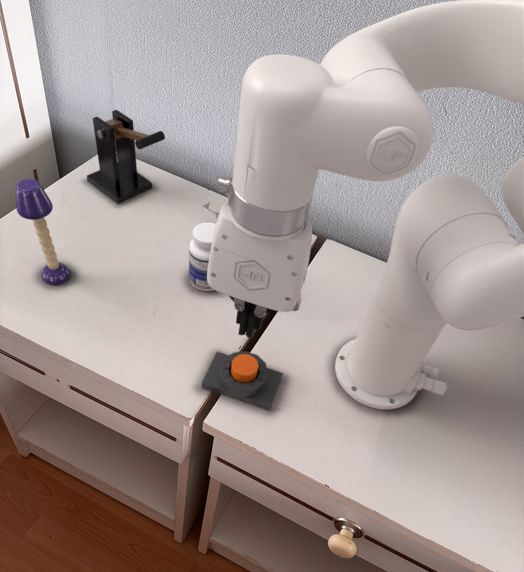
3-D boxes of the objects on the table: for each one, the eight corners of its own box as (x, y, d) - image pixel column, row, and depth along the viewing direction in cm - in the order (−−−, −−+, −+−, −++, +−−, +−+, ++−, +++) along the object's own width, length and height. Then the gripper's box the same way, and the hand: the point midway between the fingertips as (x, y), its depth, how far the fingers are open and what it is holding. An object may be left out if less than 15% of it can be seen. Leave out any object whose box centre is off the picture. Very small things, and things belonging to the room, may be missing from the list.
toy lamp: (51, 291, 78) (24, 199, 65) (31, 276, 80) (1, 183, 67) (76, 275, 81) (55, 184, 68) (56, 261, 82) (32, 169, 69)
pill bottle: (210, 263, 86) (213, 215, 79) (230, 284, 84) (235, 236, 76) (181, 276, 84) (181, 227, 76) (201, 297, 81) (203, 249, 74)
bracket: (152, 188, 97) (148, 123, 87) (118, 204, 93) (110, 138, 83) (121, 166, 100) (115, 101, 90) (87, 181, 96) (76, 114, 86)
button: (260, 366, 71) (261, 358, 70) (252, 386, 69) (253, 379, 68) (235, 358, 72) (236, 350, 70) (227, 378, 69) (228, 370, 68)
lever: (166, 143, 84) (163, 128, 83) (142, 153, 82) (138, 138, 80) (122, 130, 91) (119, 116, 89) (99, 139, 88) (95, 125, 87)
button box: (282, 376, 74) (285, 363, 71) (269, 412, 70) (272, 400, 67) (217, 354, 75) (218, 342, 72) (200, 389, 71) (201, 377, 68)
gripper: (180, 202, 47) (179, 331, 61) (337, 250, 46) (298, 370, 60) (210, 161, 52) (202, 290, 66) (353, 204, 50) (313, 326, 65)
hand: (248, 328), depth 63 cm, fingers closed
